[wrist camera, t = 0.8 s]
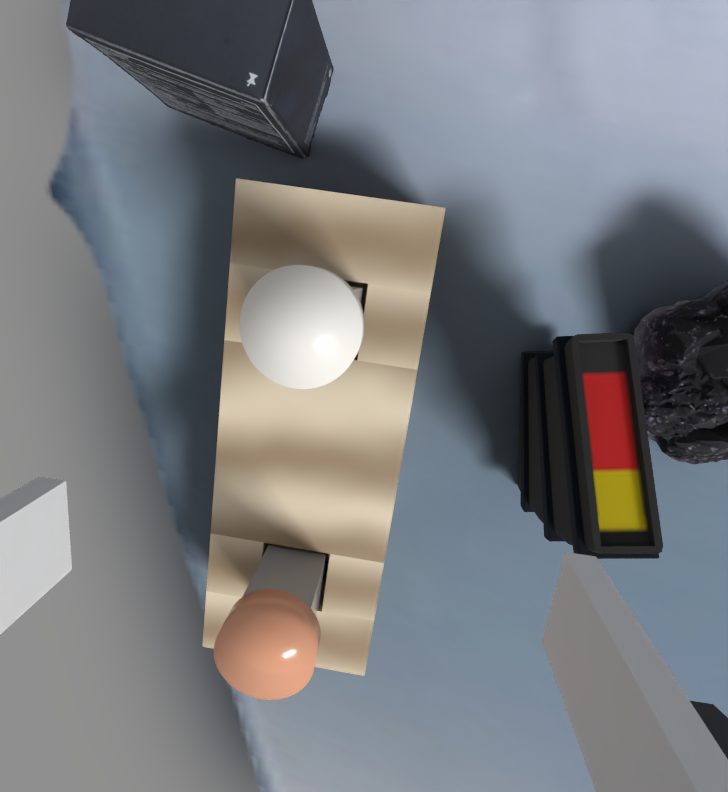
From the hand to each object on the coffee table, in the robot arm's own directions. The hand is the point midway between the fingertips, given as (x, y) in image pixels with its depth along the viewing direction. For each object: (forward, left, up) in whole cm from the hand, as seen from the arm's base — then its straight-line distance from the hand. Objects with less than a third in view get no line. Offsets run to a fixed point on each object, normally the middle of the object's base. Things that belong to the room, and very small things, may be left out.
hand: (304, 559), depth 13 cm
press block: (+4, -3, -25) cm, 25 cm away
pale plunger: (-5, -3, -18) cm, 19 cm away
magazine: (0, +13, -25) cm, 28 cm away
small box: (-19, -11, -25) cm, 33 cm away
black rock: (-4, +24, -25) cm, 35 cm away
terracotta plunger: (+13, -3, -18) cm, 23 cm away
